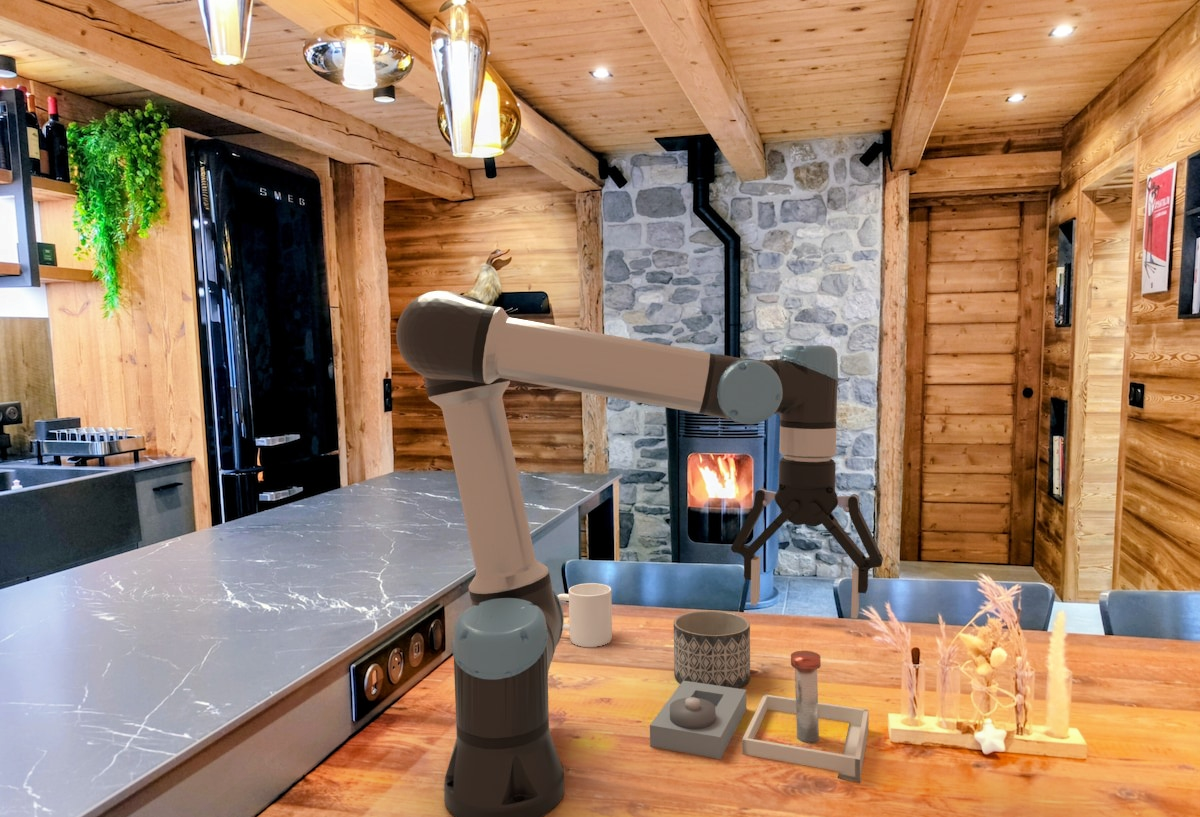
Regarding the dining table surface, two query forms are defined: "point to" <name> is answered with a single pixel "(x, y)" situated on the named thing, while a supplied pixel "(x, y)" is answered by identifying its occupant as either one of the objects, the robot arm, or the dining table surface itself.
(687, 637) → the planter
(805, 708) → the lock pin
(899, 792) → the dining table surface
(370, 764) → the dining table surface
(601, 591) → the cup
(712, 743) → the block
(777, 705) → the tray
